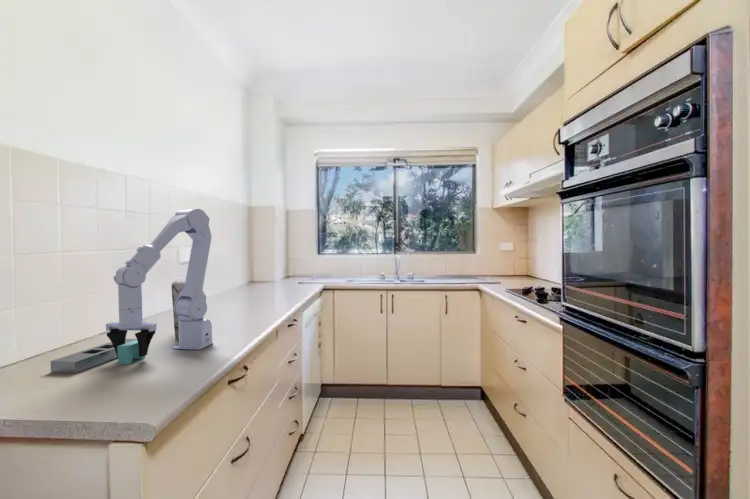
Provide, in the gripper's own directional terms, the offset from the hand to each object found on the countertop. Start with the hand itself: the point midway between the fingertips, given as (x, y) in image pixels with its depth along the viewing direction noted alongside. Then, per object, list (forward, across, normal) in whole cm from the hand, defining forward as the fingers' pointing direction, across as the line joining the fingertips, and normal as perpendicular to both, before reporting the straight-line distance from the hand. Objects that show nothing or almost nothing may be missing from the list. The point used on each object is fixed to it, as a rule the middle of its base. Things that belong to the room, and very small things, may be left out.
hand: (131, 355), depth 115 cm
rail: (+1, -10, 0) cm, 10 cm away
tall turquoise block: (+1, 0, 0) cm, 1 cm away
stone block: (+2, -4, +30) cm, 30 cm away
